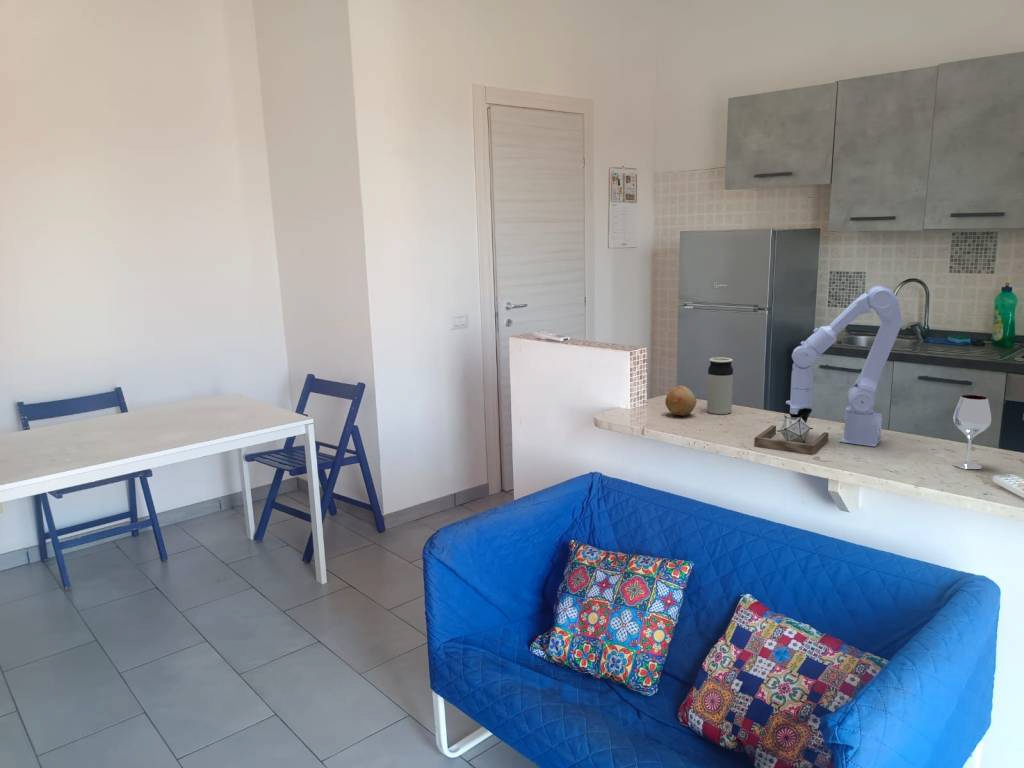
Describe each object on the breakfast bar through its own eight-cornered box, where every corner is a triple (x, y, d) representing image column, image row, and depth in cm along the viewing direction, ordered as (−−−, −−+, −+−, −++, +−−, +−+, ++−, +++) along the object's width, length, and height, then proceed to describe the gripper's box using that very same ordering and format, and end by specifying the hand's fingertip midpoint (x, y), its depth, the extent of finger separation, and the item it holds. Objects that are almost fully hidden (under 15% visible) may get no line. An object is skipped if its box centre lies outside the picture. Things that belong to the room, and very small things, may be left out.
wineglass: (993, 469, 190) (1001, 399, 186) (968, 472, 187) (975, 401, 184) (966, 460, 197) (973, 392, 194) (941, 463, 195) (947, 395, 191)
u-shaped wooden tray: (828, 441, 217) (828, 432, 217) (813, 454, 204) (813, 445, 204) (771, 433, 226) (772, 425, 226) (754, 446, 214) (754, 437, 213)
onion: (698, 419, 245) (699, 388, 243) (667, 419, 246) (668, 389, 244) (693, 412, 255) (694, 382, 253) (663, 412, 255) (663, 383, 253)
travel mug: (727, 415, 248) (730, 361, 245) (703, 413, 252) (705, 360, 249) (734, 410, 255) (736, 358, 252) (710, 408, 259) (712, 356, 256)
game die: (798, 457, 215) (809, 436, 207) (770, 444, 218) (779, 422, 210) (809, 436, 220) (820, 414, 212) (780, 423, 223) (790, 402, 215)
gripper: (794, 381, 226) (791, 425, 229) (780, 390, 215) (777, 437, 217) (818, 384, 222) (816, 429, 225) (805, 393, 211) (803, 440, 213)
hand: (798, 433), depth 221 cm, fingers closed
